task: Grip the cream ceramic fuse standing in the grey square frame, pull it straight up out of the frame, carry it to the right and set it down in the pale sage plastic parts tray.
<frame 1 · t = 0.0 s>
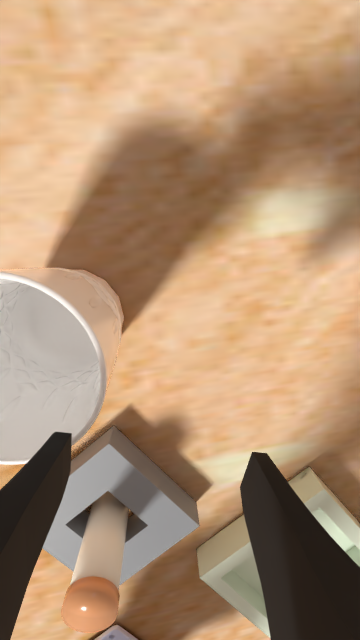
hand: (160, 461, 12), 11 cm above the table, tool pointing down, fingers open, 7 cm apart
parts tray: (285, 543, 27), on the table
white cup: (76, 316, 21), on the table
fuse: (111, 500, 25), resting in grey square frame
grey square frame: (111, 501, 25), on the table
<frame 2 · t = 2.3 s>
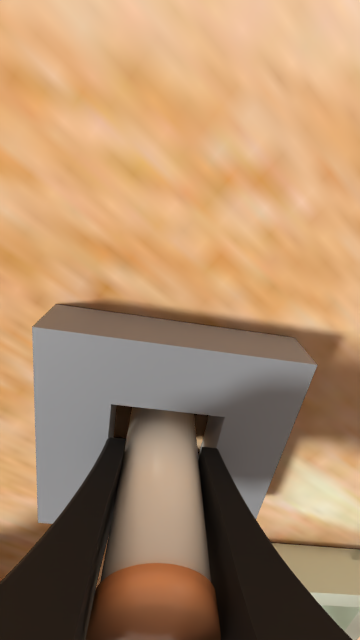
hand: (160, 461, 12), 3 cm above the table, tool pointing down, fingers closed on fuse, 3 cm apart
parts tray: (249, 590, 20), on the table
fuse: (162, 415, 14), resting in grey square frame, touching gripper
grey square frame: (162, 416, 14), on the table
when the fingers open (4 cm above the table, at t = 6.0 s): fuse stays where it is, resting on parts tray.
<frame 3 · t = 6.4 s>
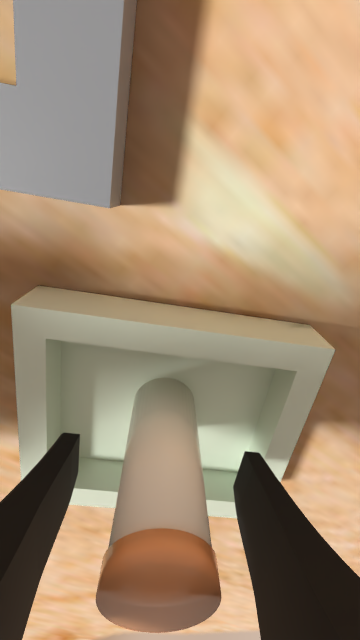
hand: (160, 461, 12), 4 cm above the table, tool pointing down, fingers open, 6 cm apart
parts tray: (163, 398, 15), on the table
fuse: (164, 403, 15), point 1 cm above the table, touching parts tray
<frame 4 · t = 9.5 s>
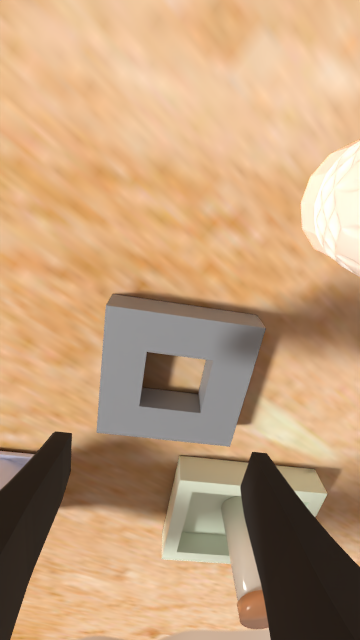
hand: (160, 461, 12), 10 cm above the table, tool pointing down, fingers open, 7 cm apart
parts tray: (234, 502, 28), on the table
white cup: (352, 203, 18), on the table
fuse: (236, 507, 28), point 1 cm above the table, touching parts tray
grey square frame: (174, 366, 22), on the table
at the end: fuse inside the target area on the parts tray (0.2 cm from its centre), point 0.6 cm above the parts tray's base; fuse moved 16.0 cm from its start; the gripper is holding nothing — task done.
